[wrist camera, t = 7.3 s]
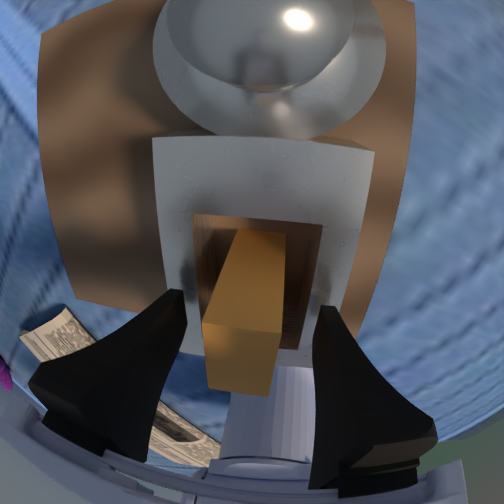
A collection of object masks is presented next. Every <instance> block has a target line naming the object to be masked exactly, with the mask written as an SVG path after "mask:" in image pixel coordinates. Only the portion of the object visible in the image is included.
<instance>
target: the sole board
mask: <svg viewBox="0 0 504 504" xmlns="http://www.w3.org/2000/svg"><path fill="white" fill-rule="evenodd" d="M370 1H371V3H372V4H373V6H374V8H375V9H376V11H377V13H378V16H379V18H380V21H381V23H382V26H383V30H384V35H385V42H386V57H385V65H384V69H383V73H382V77H381V79H380V81H379V83H378V86H377V88H376V90H375V91H374V93H373V94H372V96H371V98H370V99H369V100H368V102H367V103H366V104H365V105H364V106H363V107H362V108H361V110H360V111H359V112H357V113H356V114H355V115H354V116H353V117H352V118H350V119H349V120H348V121H346V122H345V123H343V124H342V125H340V126H339V127H337V128H335V129H333V130H331V131H329V132H327V133H325V134H323V135H320V136H328V137H335V138H341V139H348V140H353V141H355V142H357V143H359V144H361V145H363V146H365V147H367V148H369V149H371V150H372V151H374V152H375V154H374V161H373V168H372V174H371V180H370V186H369V192H368V197H367V202H366V207H365V212H364V217H363V222H362V227H361V231H360V236H359V240H358V244H357V249H356V253H355V257H354V261H353V265H352V269H351V272H350V276H349V280H348V283H347V287H346V291H345V294H344V297H343V301H342V304H341V308H340V311H339V313H340V315H341V317H342V319H343V321H344V322H345V324H346V326H347V328H348V329H349V331H350V333H351V334H352V336H353V337H354V338H356V337H357V335H358V332H359V330H360V327H361V325H362V322H363V320H364V317H365V314H366V312H367V309H368V306H369V304H370V301H371V298H372V295H373V292H374V289H375V287H376V284H377V281H378V278H379V274H380V271H381V268H382V265H383V262H384V258H385V255H386V252H387V248H388V245H389V241H390V237H391V234H392V230H393V226H394V222H395V218H396V214H397V210H398V205H399V201H400V196H401V191H402V187H403V182H404V176H405V171H406V165H407V159H408V153H409V146H410V139H411V131H412V123H413V113H414V102H415V87H416V22H415V9H414V3H412V2H410V1H407V0H370ZM166 2H167V0H114V1H112V2H109V3H106V4H103V5H101V6H98V7H96V8H93V9H91V10H88V11H86V12H84V13H82V14H79V15H77V16H75V17H73V18H71V19H69V20H67V21H65V22H63V23H61V24H59V25H57V26H55V27H53V28H51V29H49V30H48V31H46V32H44V33H42V35H41V42H40V51H39V62H38V78H37V118H38V135H39V147H40V156H41V164H42V172H43V178H44V184H45V190H46V196H47V201H48V206H49V210H50V215H51V219H52V223H53V227H54V231H55V235H56V239H57V243H58V246H59V250H60V253H61V256H62V260H63V263H64V266H65V269H66V272H67V275H68V278H69V281H70V283H71V286H72V289H73V292H74V294H75V297H76V299H80V300H84V301H88V302H92V303H96V304H100V305H105V306H109V307H113V308H118V309H122V310H127V311H132V312H136V313H141V312H142V311H143V310H144V309H146V308H147V307H148V306H149V305H151V304H152V303H153V302H154V301H155V300H157V299H158V298H159V297H160V296H161V295H163V294H164V293H165V292H166V291H168V288H167V282H166V276H165V270H164V263H163V256H162V248H161V241H160V233H159V224H158V215H157V205H156V193H155V181H154V166H153V146H152V138H153V137H156V136H160V135H164V134H167V133H171V132H175V131H179V130H183V129H205V128H203V127H202V126H200V125H198V124H197V123H195V122H194V121H192V120H191V119H190V118H188V117H187V116H186V115H185V114H184V113H183V112H181V111H180V110H179V109H178V107H177V106H176V105H175V104H174V103H173V102H172V101H171V99H170V98H169V96H168V95H167V93H166V92H165V91H164V89H163V87H162V85H161V83H160V81H159V78H158V75H157V72H156V69H155V65H154V59H153V37H154V30H155V27H156V23H157V20H158V17H159V15H160V13H161V11H162V9H163V7H164V5H165V3H166ZM214 226H215V262H216V283H217V281H218V278H219V275H220V273H221V270H222V268H223V265H224V263H225V260H226V258H227V255H228V252H229V250H230V247H231V245H232V242H233V240H234V237H235V235H236V232H237V230H238V229H248V230H257V231H266V232H275V233H284V234H286V248H285V275H284V297H283V306H292V307H298V303H299V297H300V292H301V286H302V280H303V274H304V268H305V262H306V256H307V250H308V243H309V237H310V230H311V224H310V223H301V222H290V221H280V220H269V219H257V218H245V217H233V216H219V215H214Z"/></svg>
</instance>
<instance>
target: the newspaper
mask: <svg viewBox="0 0 504 504" xmlns="http://www.w3.org/2000/svg"><path fill="white" fill-rule="evenodd" d="M19 338H20V339H21V340H22V341H23V342H24V344H25V345H26V346H27V347H28V348H29V349H30V350H31V352H32V353H33V354H34V355H35V356H36V357H37V358H38V359H39V360H40V361H41V362H44V361H48V360H52V359H55V358H58V357H62V356H65V355H67V354H70V353H73V352H75V351H78V350H80V349H82V348H85V347H87V346H89V345H91V344H93V343H95V342H97V341H96V340H95V339H94V338H93V337H92V336H91V335H90V334H89V332H88V331H87V330H86V329H85V328H84V327H83V326H82V325H81V323H80V322H79V321H78V320H77V319H76V318H75V316H74V315H73V314H72V313H71V312H70V310H69V309H68V308H67V307H66V306H65V309H64V310H63V311H62V312H61V313H60V314H59V315H58V316H56V317H55V318H54V319H52V320H51V321H49V322H47V323H45V324H44V325H42V326H40V327H38V328H36V329H35V330H33V331H31V332H29V331H25V330H23V331H22V332H21V333H20V334H19ZM220 447H221V444H220V443H219V442H217V441H216V440H214V439H212V438H211V437H209V436H208V435H206V434H205V433H203V432H202V431H200V430H199V429H198V428H196V427H195V426H193V425H192V424H190V423H189V422H188V421H186V420H185V419H184V418H182V417H181V416H180V415H178V414H177V413H176V412H174V411H173V410H172V409H170V408H169V407H168V406H167V405H165V404H164V403H163V402H161V401H160V400H159V403H158V406H157V410H156V414H155V418H154V422H153V427H152V431H151V436H150V441H149V448H150V449H152V450H154V451H156V452H157V453H159V454H161V455H163V456H164V457H166V458H168V459H170V460H172V461H174V462H176V463H181V464H187V465H193V466H199V467H209V463H210V459H218V456H219V452H220Z"/></svg>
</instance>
